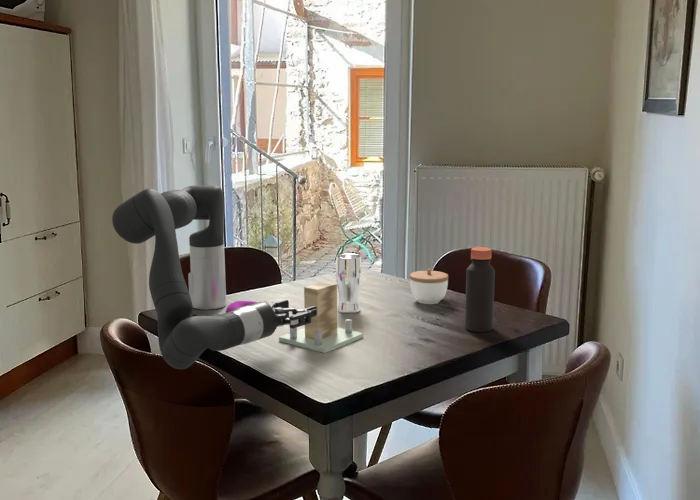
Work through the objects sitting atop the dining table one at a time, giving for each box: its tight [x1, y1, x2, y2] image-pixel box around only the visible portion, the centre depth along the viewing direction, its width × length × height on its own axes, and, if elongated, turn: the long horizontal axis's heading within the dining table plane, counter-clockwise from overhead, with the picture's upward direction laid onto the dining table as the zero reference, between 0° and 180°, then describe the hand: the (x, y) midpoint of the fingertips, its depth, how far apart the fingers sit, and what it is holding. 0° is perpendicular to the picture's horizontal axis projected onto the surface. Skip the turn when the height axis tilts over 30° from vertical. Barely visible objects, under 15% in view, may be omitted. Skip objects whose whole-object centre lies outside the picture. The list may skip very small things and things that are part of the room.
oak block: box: [303, 281, 338, 340], centre depth 164 cm, size 7×4×12 cm, turn 142°
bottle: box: [464, 246, 496, 333], centre depth 171 cm, size 7×7×20 cm
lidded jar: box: [409, 268, 449, 305], centre depth 197 cm, size 11×11×9 cm
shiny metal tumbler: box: [335, 253, 363, 315], centre depth 188 cm, size 7×7×15 cm
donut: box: [225, 300, 258, 313], centre depth 181 cm, size 10×10×5 cm
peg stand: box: [278, 318, 364, 354], centre depth 165 cm, size 14×14×4 cm
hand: (301, 307), depth 158 cm, fingers open, 8 cm apart
